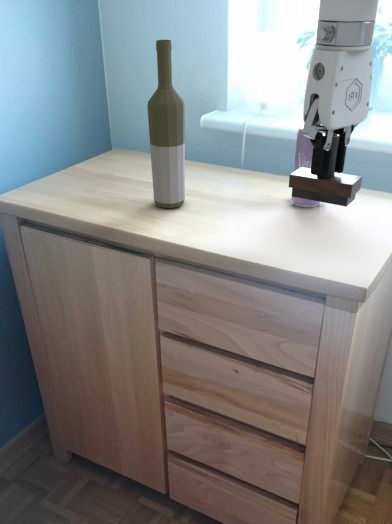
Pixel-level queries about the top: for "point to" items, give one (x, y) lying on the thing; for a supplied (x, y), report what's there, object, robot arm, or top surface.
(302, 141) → the beverage can
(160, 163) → the bottle
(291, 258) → the top surface
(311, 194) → the scrub brush
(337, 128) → the robot arm
